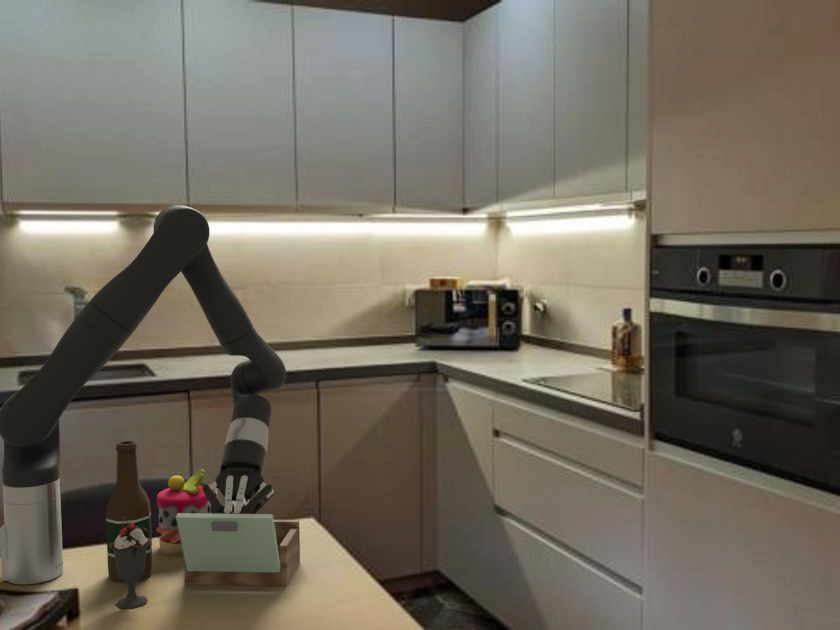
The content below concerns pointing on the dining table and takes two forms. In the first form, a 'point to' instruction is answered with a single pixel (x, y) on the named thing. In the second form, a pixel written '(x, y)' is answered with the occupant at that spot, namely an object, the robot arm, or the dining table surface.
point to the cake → (179, 509)
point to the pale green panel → (229, 542)
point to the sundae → (131, 561)
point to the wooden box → (288, 562)
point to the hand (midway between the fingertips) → (229, 537)
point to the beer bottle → (127, 506)
